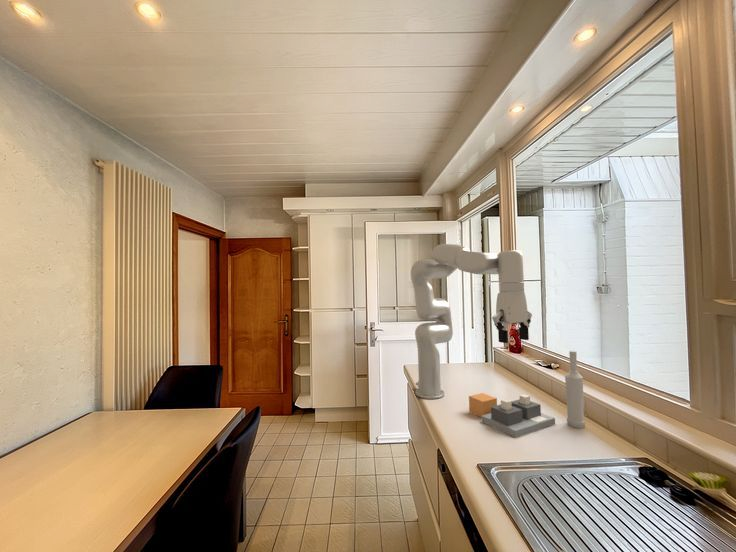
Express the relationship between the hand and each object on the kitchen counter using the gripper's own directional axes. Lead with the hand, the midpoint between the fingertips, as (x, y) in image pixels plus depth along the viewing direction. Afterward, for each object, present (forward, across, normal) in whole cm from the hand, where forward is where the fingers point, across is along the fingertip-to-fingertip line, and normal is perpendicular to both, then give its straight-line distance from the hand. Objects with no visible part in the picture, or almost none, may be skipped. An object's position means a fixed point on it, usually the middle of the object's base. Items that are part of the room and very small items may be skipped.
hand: (513, 341), depth 106 cm
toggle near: (+25, -2, -6) cm, 26 cm away
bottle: (+30, -23, +5) cm, 38 cm away
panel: (+30, -8, -6) cm, 31 cm away
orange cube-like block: (+30, -4, -18) cm, 35 cm away
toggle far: (+25, -12, -6) cm, 29 cm away
